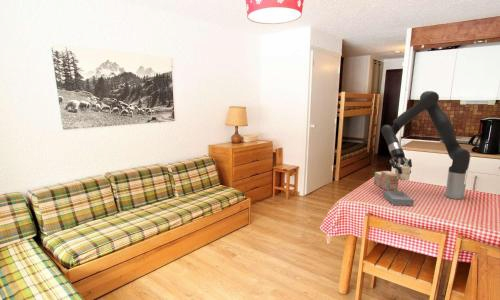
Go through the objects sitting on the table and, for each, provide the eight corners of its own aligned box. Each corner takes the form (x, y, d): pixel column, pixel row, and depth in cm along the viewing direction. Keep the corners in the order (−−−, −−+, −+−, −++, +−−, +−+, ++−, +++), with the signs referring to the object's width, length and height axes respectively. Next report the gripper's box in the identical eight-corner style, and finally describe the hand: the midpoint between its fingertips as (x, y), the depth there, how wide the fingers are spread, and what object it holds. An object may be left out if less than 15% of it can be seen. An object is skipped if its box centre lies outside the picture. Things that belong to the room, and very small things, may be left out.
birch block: (396, 178, 176) (398, 165, 174) (404, 178, 176) (405, 166, 175) (401, 180, 171) (402, 167, 170) (408, 180, 171) (410, 167, 170)
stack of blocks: (373, 183, 215) (374, 168, 212) (381, 183, 215) (382, 167, 213) (389, 192, 194) (390, 175, 191) (397, 192, 194) (399, 175, 192)
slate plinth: (401, 197, 184) (402, 191, 183) (413, 206, 168) (413, 199, 167) (382, 196, 185) (383, 190, 184) (392, 205, 169) (393, 199, 168)
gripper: (388, 147, 177) (397, 170, 167) (409, 147, 178) (419, 170, 168) (383, 154, 183) (391, 176, 174) (403, 154, 184) (413, 176, 175)
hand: (405, 173), depth 171 cm, fingers closed on birch block, 5 cm apart
